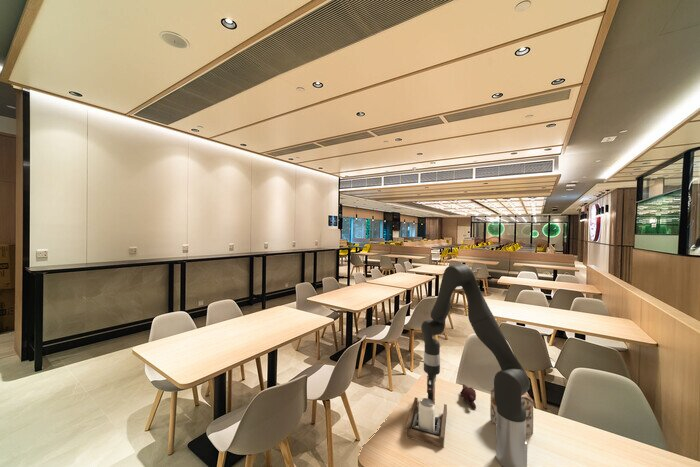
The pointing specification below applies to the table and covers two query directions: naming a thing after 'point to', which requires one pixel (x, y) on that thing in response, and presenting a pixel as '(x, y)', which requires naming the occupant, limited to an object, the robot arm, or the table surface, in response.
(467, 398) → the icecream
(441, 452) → the table surface
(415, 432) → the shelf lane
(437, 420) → the pull frame
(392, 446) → the table surface
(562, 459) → the table surface
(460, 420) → the table surface
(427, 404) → the can
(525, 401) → the decorative jar
